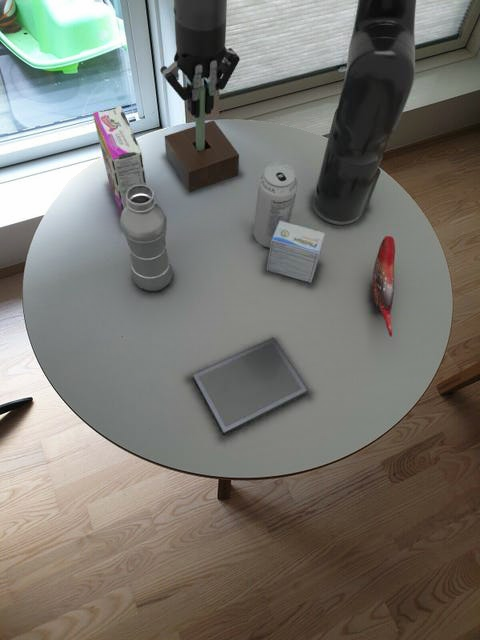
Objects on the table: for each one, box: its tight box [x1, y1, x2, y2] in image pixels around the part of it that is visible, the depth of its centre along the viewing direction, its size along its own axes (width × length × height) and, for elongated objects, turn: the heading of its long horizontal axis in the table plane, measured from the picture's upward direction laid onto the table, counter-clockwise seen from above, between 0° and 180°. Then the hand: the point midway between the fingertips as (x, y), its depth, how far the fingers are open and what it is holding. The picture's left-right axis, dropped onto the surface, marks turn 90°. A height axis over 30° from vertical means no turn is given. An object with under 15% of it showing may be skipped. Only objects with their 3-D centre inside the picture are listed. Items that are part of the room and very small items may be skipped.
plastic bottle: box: [119, 185, 173, 292], centre depth 81 cm, size 6×7×20 cm
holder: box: [164, 120, 240, 193], centre depth 102 cm, size 10×10×5 cm
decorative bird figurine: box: [371, 235, 396, 338], centre depth 85 cm, size 3×18×10 cm, turn 176°
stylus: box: [195, 84, 206, 152], centre depth 95 cm, size 2×2×14 cm
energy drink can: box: [252, 162, 299, 249], centre depth 89 cm, size 6×6×15 cm
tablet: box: [192, 337, 309, 436], centre depth 81 cm, size 14×10×1 cm
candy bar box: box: [92, 106, 147, 215], centre depth 91 cm, size 11×5×16 cm, turn 23°
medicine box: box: [266, 220, 326, 284], centre depth 89 cm, size 8×4×9 cm, turn 72°
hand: (200, 112), depth 93 cm, fingers closed on stylus, 1 cm apart
